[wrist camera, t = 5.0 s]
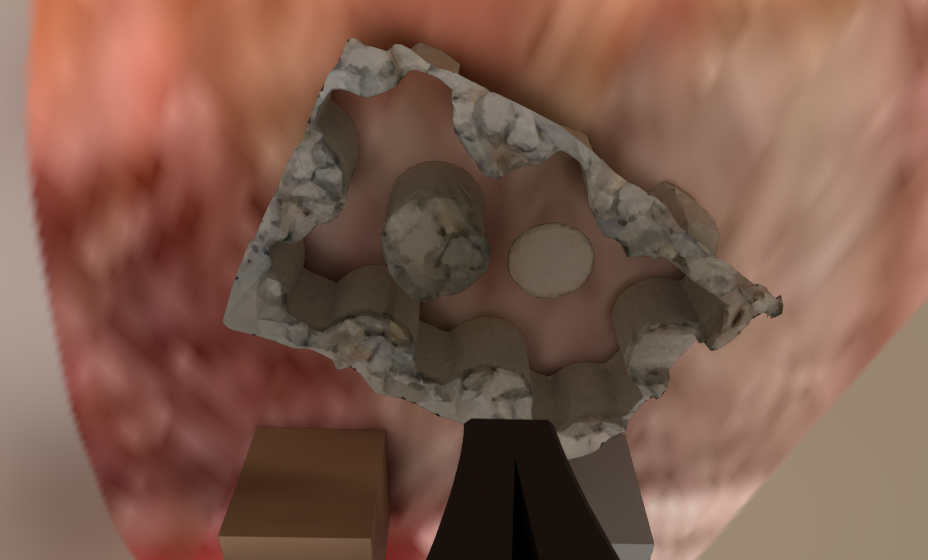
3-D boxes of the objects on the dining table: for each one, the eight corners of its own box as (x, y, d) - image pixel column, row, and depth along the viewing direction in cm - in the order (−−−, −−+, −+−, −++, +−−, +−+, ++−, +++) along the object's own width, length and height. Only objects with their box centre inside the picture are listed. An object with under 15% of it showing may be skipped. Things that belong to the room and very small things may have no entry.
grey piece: (745, 220, 17) (818, 313, 14) (567, 402, 21) (589, 513, 17) (381, -23, 14) (356, 19, 11) (242, 240, 17) (188, 337, 14)
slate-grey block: (606, 514, 23) (630, 627, 20) (491, 512, 23) (496, 626, 20) (624, 432, 21) (654, 544, 18) (497, 430, 21) (503, 541, 18)
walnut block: (390, 510, 23) (377, 623, 20) (274, 508, 23) (242, 621, 20) (385, 427, 21) (370, 538, 18) (257, 425, 21) (217, 536, 18)
